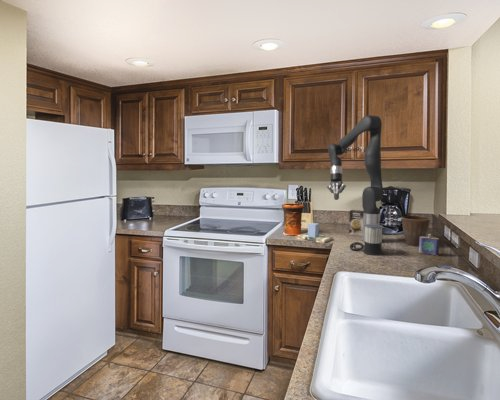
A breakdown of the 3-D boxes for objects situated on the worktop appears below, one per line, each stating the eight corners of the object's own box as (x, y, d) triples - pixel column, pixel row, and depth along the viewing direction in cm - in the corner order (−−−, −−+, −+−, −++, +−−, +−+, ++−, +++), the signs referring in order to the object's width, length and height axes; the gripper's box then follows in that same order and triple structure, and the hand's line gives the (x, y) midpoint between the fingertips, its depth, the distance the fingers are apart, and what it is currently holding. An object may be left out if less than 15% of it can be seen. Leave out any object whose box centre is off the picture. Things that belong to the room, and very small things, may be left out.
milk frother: (383, 256, 177) (384, 227, 175) (351, 254, 180) (352, 226, 178) (378, 249, 191) (379, 222, 189) (348, 247, 194) (349, 221, 192)
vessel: (281, 235, 225) (281, 205, 223) (281, 231, 239) (282, 202, 238) (303, 236, 224) (304, 205, 222) (302, 232, 238) (303, 203, 236)
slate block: (318, 236, 214) (319, 223, 213) (315, 237, 210) (315, 224, 209) (311, 235, 217) (311, 222, 216) (307, 236, 213) (308, 223, 212)
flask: (418, 253, 182) (419, 233, 181) (419, 252, 184) (420, 232, 183) (438, 256, 177) (439, 235, 175) (438, 255, 179) (440, 234, 178)
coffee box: (348, 234, 229) (349, 210, 227) (350, 233, 234) (351, 209, 233) (362, 236, 224) (363, 211, 223) (364, 234, 230) (365, 210, 228)
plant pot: (425, 249, 191) (427, 220, 189) (397, 245, 200) (398, 218, 198) (430, 244, 203) (432, 217, 201) (403, 240, 212) (404, 214, 210)
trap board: (332, 239, 214) (332, 236, 214) (324, 243, 205) (324, 239, 205) (306, 235, 225) (306, 232, 225) (297, 238, 216) (297, 235, 216)
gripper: (324, 173, 229) (324, 199, 227) (343, 171, 221) (343, 198, 219) (329, 175, 235) (329, 201, 233) (348, 173, 227) (348, 199, 225)
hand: (336, 199), depth 226 cm, fingers closed
